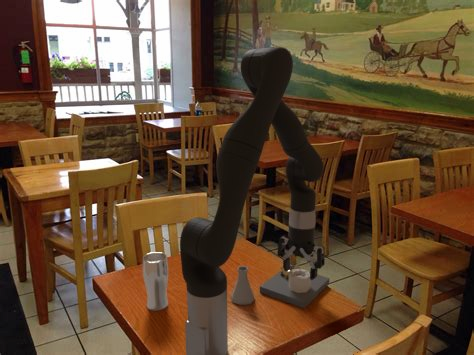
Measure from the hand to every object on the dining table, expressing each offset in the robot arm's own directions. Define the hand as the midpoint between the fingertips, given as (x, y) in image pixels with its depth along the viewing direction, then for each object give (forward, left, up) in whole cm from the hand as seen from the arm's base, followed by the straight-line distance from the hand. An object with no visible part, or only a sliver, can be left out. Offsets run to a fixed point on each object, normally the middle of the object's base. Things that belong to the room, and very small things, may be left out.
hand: (299, 274), depth 122 cm
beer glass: (-29, +30, -7) cm, 42 cm away
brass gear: (+6, +6, -4) cm, 10 cm away
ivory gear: (0, 0, -4) cm, 4 cm away
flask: (-12, +12, -7) cm, 18 cm away
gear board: (+2, +2, -6) cm, 7 cm away
